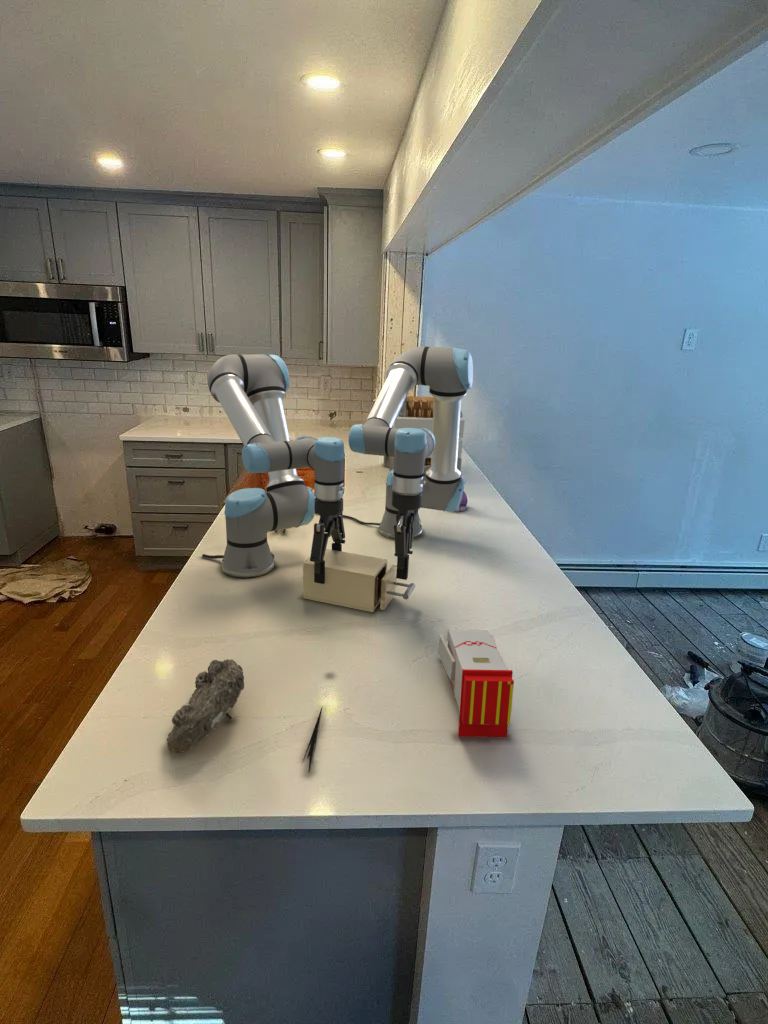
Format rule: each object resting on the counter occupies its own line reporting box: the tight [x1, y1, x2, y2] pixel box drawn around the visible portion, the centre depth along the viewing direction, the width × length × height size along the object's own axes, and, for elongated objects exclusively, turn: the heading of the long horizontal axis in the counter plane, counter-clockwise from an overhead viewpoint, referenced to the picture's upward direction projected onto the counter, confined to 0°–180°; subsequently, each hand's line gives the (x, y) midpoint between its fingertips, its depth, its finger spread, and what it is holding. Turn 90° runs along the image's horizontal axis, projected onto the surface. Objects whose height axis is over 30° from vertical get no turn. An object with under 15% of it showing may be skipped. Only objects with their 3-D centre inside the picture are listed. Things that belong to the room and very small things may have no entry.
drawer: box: [374, 564, 416, 611], centre depth 152 cm, size 25×10×9 cm, turn 72°
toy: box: [437, 628, 515, 738], centre depth 117 cm, size 12×13×30 cm
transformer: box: [383, 395, 465, 472], centre depth 268 cm, size 34×33×41 cm
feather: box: [301, 673, 332, 771], centre depth 108 cm, size 2×28×2 cm
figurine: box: [454, 471, 468, 512], centre depth 225 cm, size 9×10×15 cm
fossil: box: [166, 658, 245, 754], centre depth 106 cm, size 22×10×15 cm
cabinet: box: [302, 548, 388, 613], centre depth 154 cm, size 20×11×11 cm, turn 72°
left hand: (328, 573), depth 155 cm, fingers closed on cabinet, 11 cm apart
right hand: (401, 577), depth 148 cm, fingers closed
